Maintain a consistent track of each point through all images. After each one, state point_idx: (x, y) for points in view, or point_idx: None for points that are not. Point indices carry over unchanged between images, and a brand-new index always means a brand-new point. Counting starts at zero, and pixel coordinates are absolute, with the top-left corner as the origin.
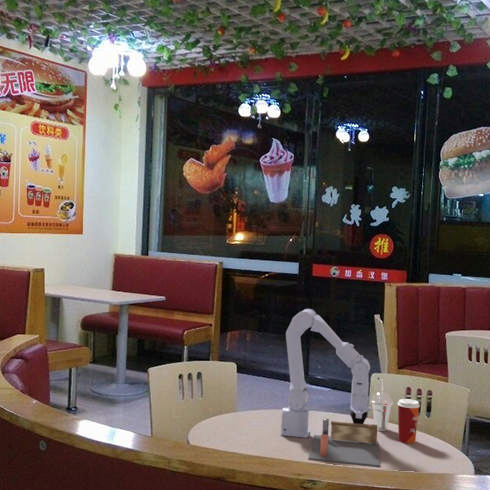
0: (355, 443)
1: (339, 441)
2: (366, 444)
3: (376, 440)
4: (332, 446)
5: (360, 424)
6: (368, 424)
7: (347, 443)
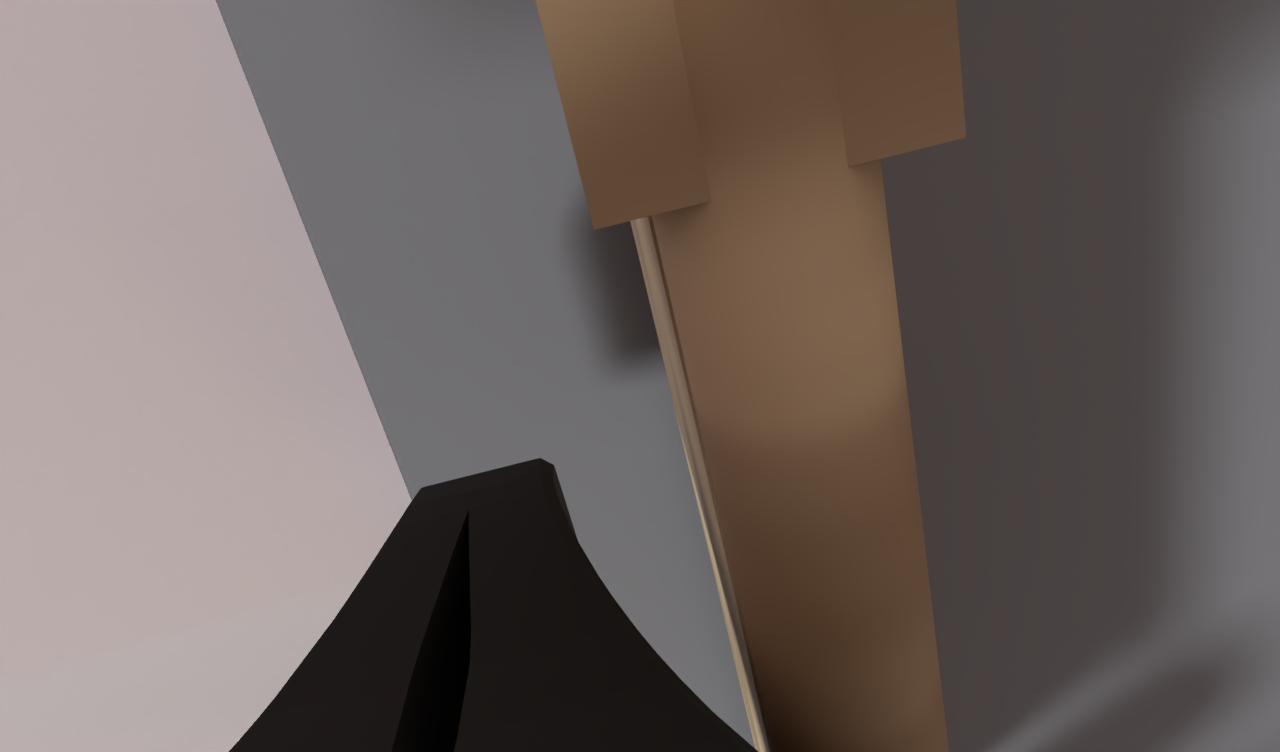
0: None
1: None
2: None
3: None
4: (1223, 726)
5: (932, 734)
6: (824, 407)
7: None
